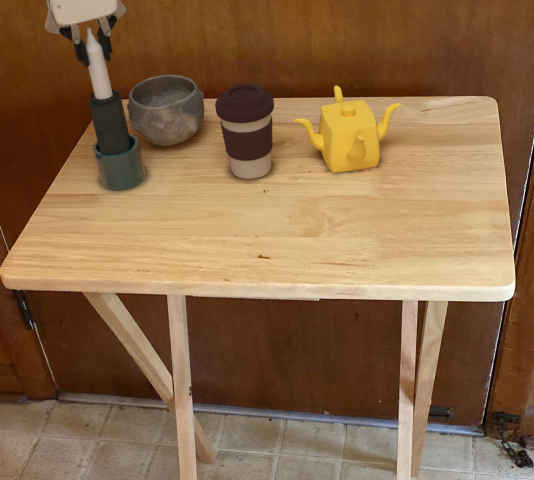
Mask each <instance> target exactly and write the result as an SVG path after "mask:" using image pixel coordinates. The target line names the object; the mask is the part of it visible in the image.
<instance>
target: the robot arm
mask: <svg viewBox="0 0 534 480" xmlns="http://www.w3.org/2000/svg"><path fill="white" fill-rule="evenodd" d="M46 4H47V5H46V6H47V8H48V10H47V13H46V14H47V15H46V19H45V23H44V28H45V30H46V31H47V32H48V33H50V34H55V35H61V36H62V37H64V38H66V39H67V40H69V41H71V42H72V45H73V49H74V53H75V58H76V60H77V61H78V62H81V63H82V64H83V66H84V67H85V68H88V67H89V65H90V64H89V59H88V55H87V51H86V46H85V45H86V43H85V41H84V40H83V38H82V37H81V33H80V27H79V24H81V23H85V22H89V21H93V20H96V23H97V27H98V29H97V33H96V36H97V42H98V43H99V44H100V45H101V46H102V49H103V53H104V58H105V62H110V61H112V58H111V54H113V47H112V41H111V37H110V36H111V34H112V30H113V28H114V27H115V25H116V23H117V22H118V20H119V19H121V18H122V17H123V16H124V15H125V14H126V13H127V12H128V9H127V7H126V6H125V4H123V2H122V1H121V0H46Z"/></svg>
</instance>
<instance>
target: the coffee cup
mask: <svg viewBox="0 0 534 480" xmlns="http://www.w3.org/2000/svg"><path fill="white" fill-rule="evenodd" d="M274 98H275V97H274V95H273V94H272V93H270V92H269V91H267V90H266V89H264V88H262V87H261V86H260V85H259V84H256V83H248V82H247V83H245V82H244V83H238V84H233V85H231V86H229V87H228V88H226V89H225V90H224V92H223V93H222V94H220V95H219V96H218V97H217V98H216V100H215V103H214V107H215V113H216V115H217V117H218V118H219V119H220V128H221V132H222V139H223V142H224V148H225V152H226V154H227V156H228V160H229V166H230V171H231V173H232V174H233V175H234V176H235V177H237V178H239V179H243V180H255V179H259V178H262V177H264V176H266V175H267V174H268V173H269V172H270V171H271V170H272V150H273V116H272V113H273V112H274V109H275V100H274Z"/></svg>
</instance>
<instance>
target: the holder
mask: <svg viewBox="0 0 534 480" xmlns="http://www.w3.org/2000/svg"><path fill="white" fill-rule="evenodd" d="M129 136H130V141H131V146H132V148H131V149H129V150H128V151H126V152H123V153H120V154H114V155H107V154H102V153H100V149H99V145H98V141H97V140H96V141H94V142H93V144H92V153H93V156H94V160H95V164H96V169H97V172H98V177H99V179H100V181H101V185H102V186H103V188H105V189H107V190H111V191H127V190H130V189H134V188H135V187H137V186H139V185H141V184H142V183H143V182H144V181H145V179H146V171H145V169H146V168H145V164H144V160H143V155H142V150H141V146H140V140H139V138H138V137H137V136H136V135H134V134H132V133H130V132H129Z"/></svg>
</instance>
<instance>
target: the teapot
mask: <svg viewBox="0 0 534 480" xmlns="http://www.w3.org/2000/svg"><path fill="white" fill-rule="evenodd" d="M333 92H334V102H333V103H331V104H325V105H322V106H321V107H320V108H321V109H320V114H319V122H318V133H317V131H315V129H314V125H313V124H312V122H311V121H310V120H309V119H308V118H295V119H294V120H293V121H294V122H295V123H298V124H300V125H302V127H303V128H304V129H305V131H306V134H307V137H308V140H309V143H310V144H311V145H312V146H313V148H315V149H316V150H318V151H320V152H321V155H322V158H323V160H324V163H325V164H326V166H327V168H328V169H329V171H330V172H331V173H333V174H334V173H336V174H337V173H345V172H351V171H358V170H364V169H369V168H375V167H378V166H379V164H380V158H381V148H380V147H381V145H380V142H381V141H382V140H383V139H384V138H385V137H386V135H387V133H388V130H389V127H390V123H391V118H392V116H393V114H394V112H395V111H396V110H397V109H399V108H400V107H402V103H400V102H398V103H393V104H391V105H389V106H387V107H386V108H385V110H384V112H383V114H382V117H381V119H380V121H379V122H378V123H377V120H376V117H375V115H374V113H373V111H372V109H371V108H370V106H369V105H368V103H367V102H366V101H365V100H363V99H358V100H349V101H345V99H344V96H343V91H342V88H341V87H340V86H339V85H334V87H333Z"/></svg>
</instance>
